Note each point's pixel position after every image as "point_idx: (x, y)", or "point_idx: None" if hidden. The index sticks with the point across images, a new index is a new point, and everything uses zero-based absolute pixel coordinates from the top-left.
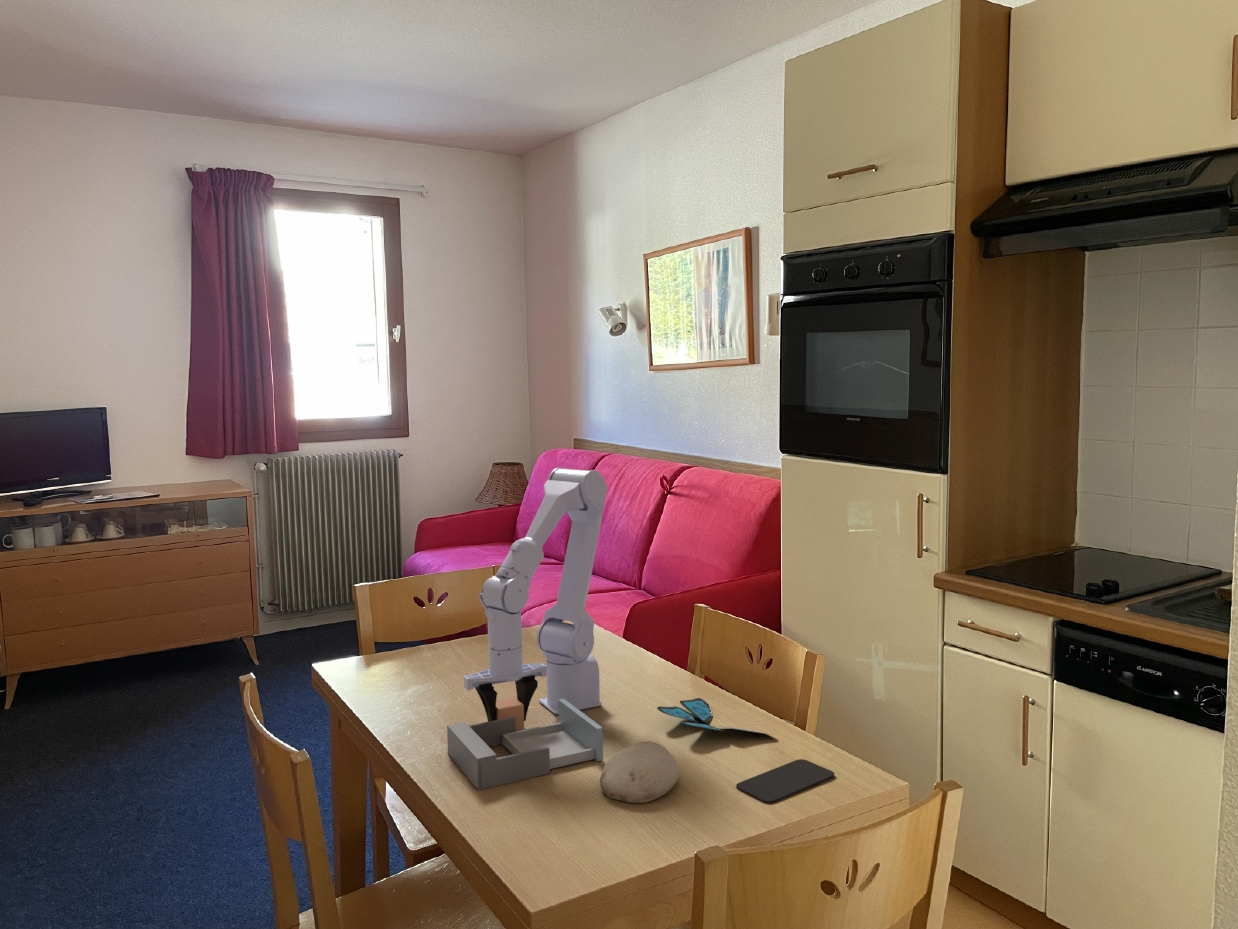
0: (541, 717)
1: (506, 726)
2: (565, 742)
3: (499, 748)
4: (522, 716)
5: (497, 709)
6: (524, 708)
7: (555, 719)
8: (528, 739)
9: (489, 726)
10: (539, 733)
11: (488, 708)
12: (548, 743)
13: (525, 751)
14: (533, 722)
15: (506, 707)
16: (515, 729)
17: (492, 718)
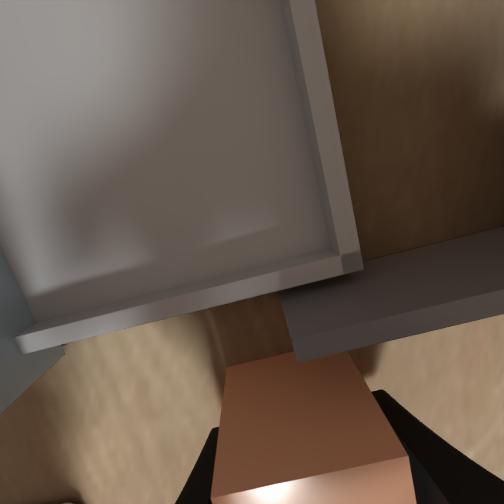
0: (138, 493)
1: (343, 303)
2: (21, 142)
3: (363, 218)
4: (227, 424)
5: (407, 469)
6: (207, 484)
7: (80, 463)
8: (219, 234)
9: (471, 284)
10: (156, 291)
11: (490, 476)
12: (117, 150)
13: (254, 66)
14: (176, 455)
15: (345, 476)
16: (282, 305)
17: (411, 418)
